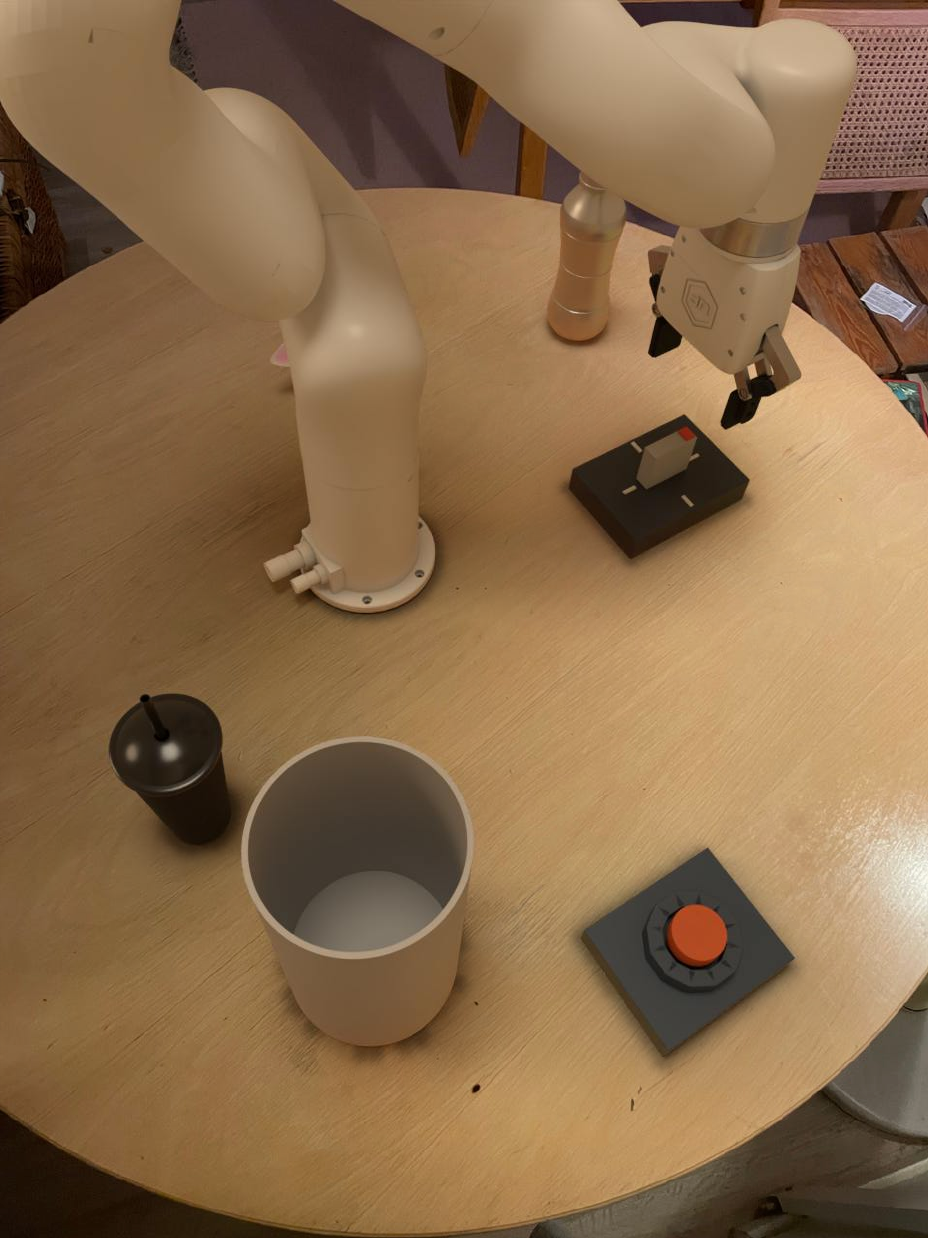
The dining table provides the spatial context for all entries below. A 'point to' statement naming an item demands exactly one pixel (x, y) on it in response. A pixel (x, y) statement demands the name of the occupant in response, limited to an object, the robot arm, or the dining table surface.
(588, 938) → the switch block
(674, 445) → the temp dial
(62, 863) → the dining table surface
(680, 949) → the button
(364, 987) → the cylinder vase
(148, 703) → the drinking cup
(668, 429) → the panel
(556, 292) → the plastic bottle
